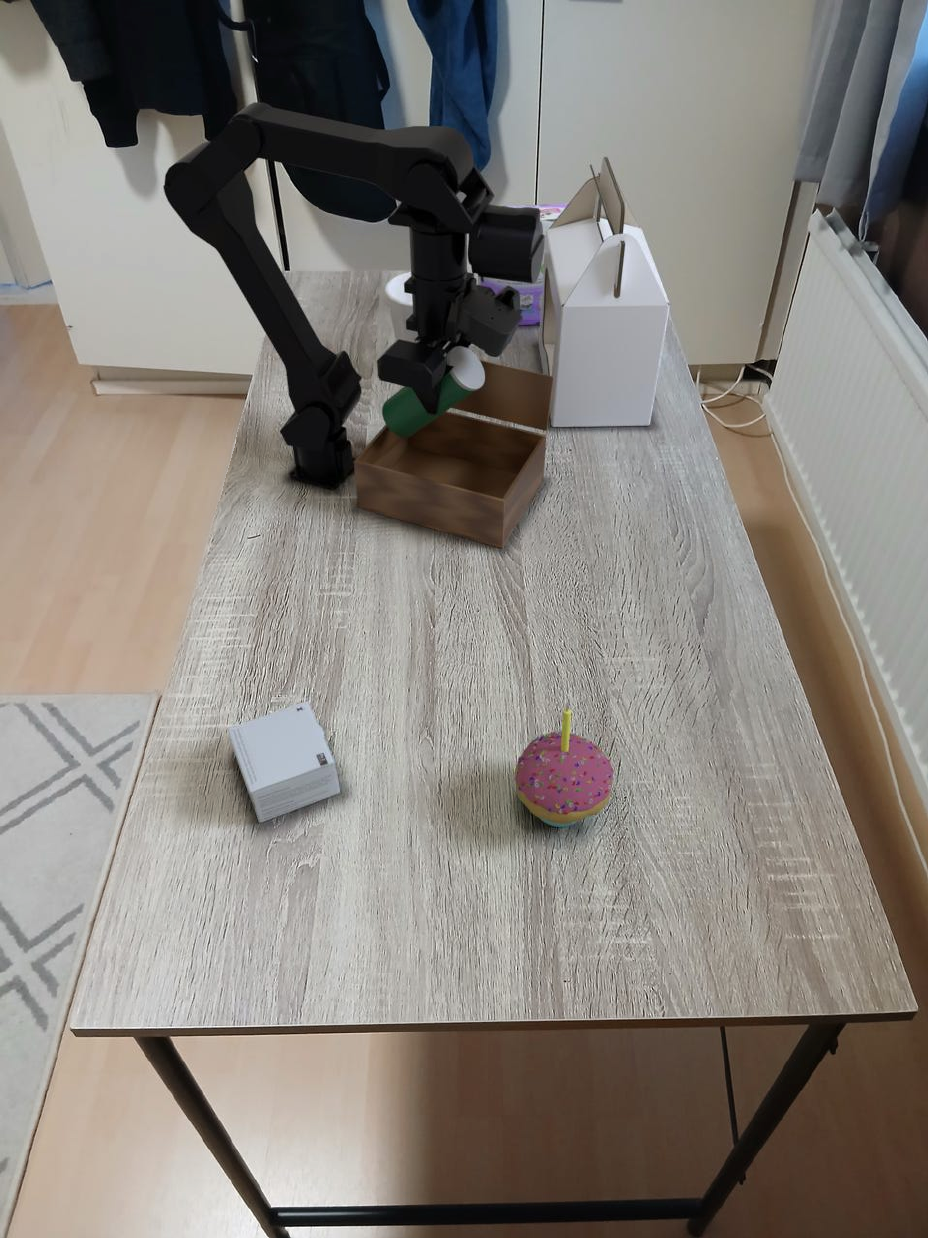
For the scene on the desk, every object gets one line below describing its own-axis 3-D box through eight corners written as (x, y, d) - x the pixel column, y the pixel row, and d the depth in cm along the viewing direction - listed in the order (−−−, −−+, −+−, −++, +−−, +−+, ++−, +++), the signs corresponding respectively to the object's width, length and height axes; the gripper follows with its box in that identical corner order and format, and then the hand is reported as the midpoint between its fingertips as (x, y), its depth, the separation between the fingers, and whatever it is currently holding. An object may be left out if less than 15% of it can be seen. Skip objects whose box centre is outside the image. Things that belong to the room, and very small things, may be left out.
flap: (406, 344, 112) (407, 343, 112) (405, 397, 116) (406, 396, 116) (553, 376, 106) (554, 376, 107) (546, 430, 110) (547, 430, 111)
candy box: (563, 306, 147) (571, 201, 136) (568, 325, 143) (577, 218, 132) (476, 309, 147) (477, 203, 135) (479, 327, 143) (480, 220, 131)
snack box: (358, 507, 112) (353, 461, 107) (408, 446, 121) (405, 400, 116) (502, 548, 107) (504, 501, 102) (543, 481, 116) (546, 435, 111)
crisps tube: (383, 433, 107) (452, 382, 98) (379, 393, 109) (446, 340, 100) (418, 442, 110) (488, 393, 102) (413, 404, 112) (481, 352, 103)
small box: (235, 759, 87) (225, 725, 83) (316, 731, 89) (309, 697, 85) (258, 826, 82) (248, 793, 78) (342, 794, 84) (336, 761, 80)
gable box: (538, 344, 139) (550, 146, 119) (625, 342, 140) (652, 145, 119) (551, 429, 124) (568, 218, 104) (650, 427, 124) (686, 216, 104)
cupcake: (507, 769, 86) (512, 685, 77) (598, 762, 86) (613, 678, 78) (519, 851, 80) (525, 770, 71) (616, 843, 80) (634, 762, 72)
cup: (472, 367, 135) (472, 281, 125) (434, 399, 129) (431, 312, 119) (415, 348, 138) (412, 263, 129) (376, 379, 133) (369, 292, 123)
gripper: (476, 326, 86) (474, 463, 97) (545, 245, 98) (537, 376, 109) (369, 303, 89) (380, 439, 100) (449, 227, 101) (450, 356, 112)
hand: (441, 401), depth 105 cm, fingers closed on crisps tube, 5 cm apart
